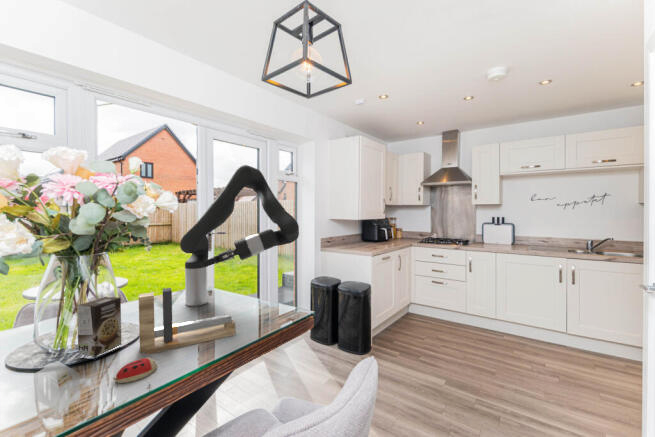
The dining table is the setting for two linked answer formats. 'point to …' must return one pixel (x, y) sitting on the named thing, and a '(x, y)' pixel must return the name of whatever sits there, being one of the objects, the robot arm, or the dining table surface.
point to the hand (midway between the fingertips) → (203, 264)
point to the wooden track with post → (179, 340)
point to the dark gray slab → (167, 314)
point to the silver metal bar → (195, 325)
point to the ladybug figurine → (136, 370)
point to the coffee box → (99, 326)
